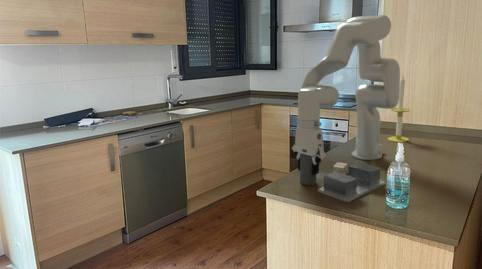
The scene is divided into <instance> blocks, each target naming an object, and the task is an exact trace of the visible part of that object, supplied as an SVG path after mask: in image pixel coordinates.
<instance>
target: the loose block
mask: <svg viewBox="0 0 482 269" xmlns="http://www.w3.org/2000/svg"><path fill="white" fill-rule="evenodd" d="M332 167H333V168H332V172H338V173H341V174H345V175H348V163H344V162H336V163H335V164H334V165H333V166H332Z"/></svg>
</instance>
